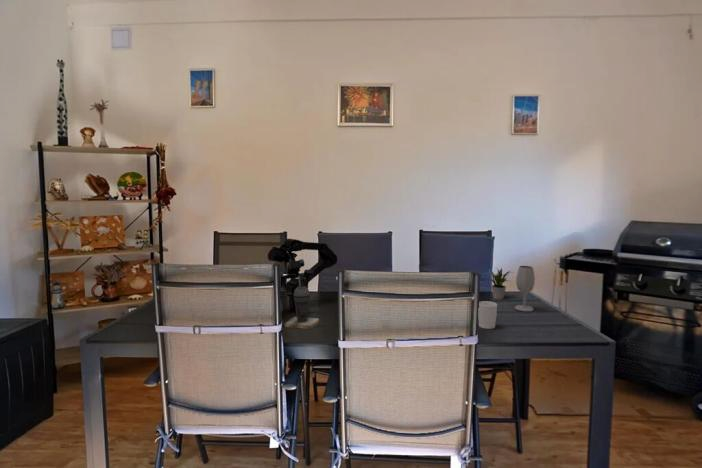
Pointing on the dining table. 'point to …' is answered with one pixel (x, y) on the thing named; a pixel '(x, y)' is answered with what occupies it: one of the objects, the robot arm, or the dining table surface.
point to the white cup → (487, 314)
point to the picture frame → (302, 323)
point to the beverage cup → (301, 302)
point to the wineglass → (525, 285)
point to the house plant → (499, 284)
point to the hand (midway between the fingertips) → (297, 291)
